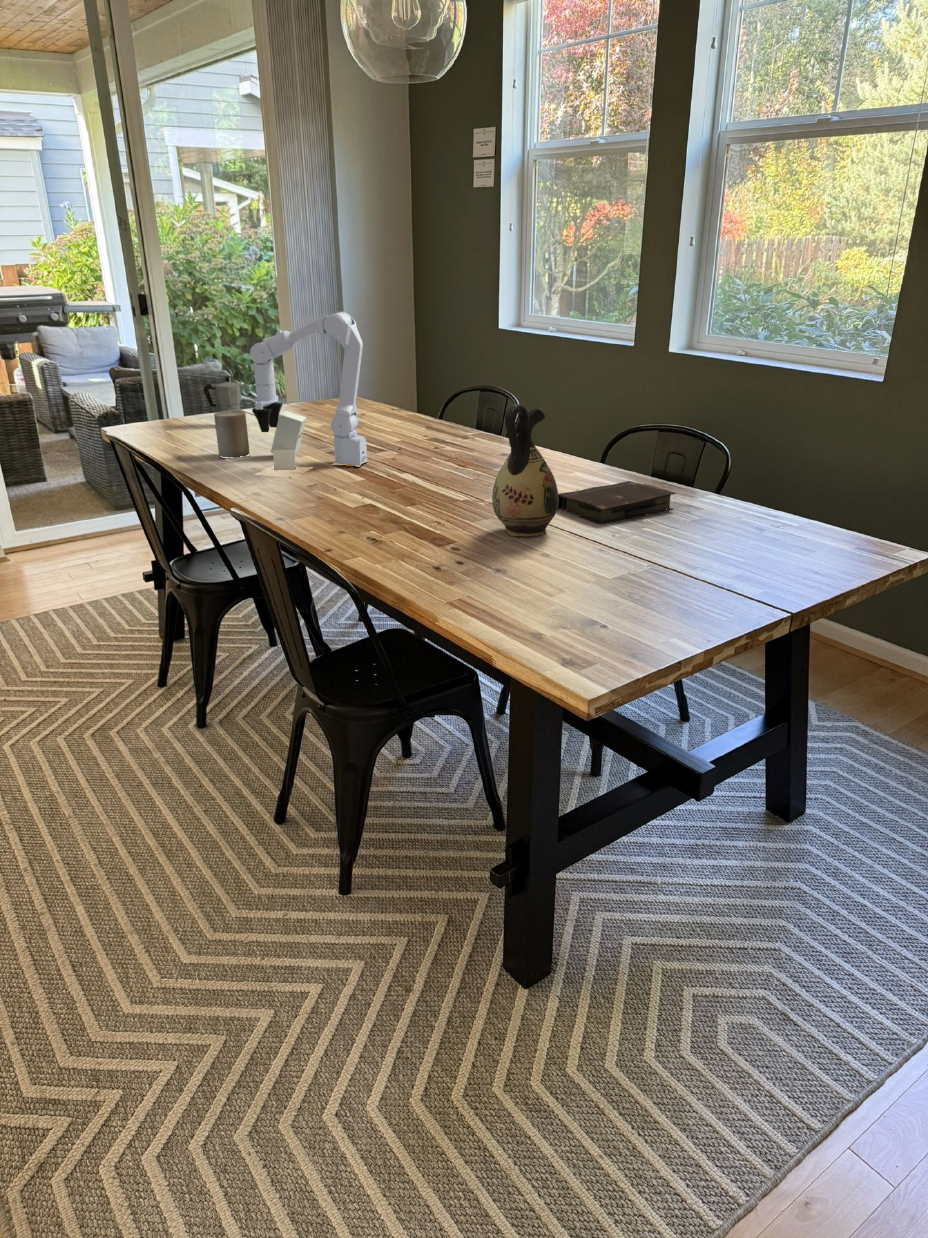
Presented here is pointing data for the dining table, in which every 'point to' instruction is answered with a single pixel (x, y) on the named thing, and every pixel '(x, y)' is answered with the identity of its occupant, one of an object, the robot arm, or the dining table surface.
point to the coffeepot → (226, 394)
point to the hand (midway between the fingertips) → (269, 429)
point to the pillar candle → (232, 433)
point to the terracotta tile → (284, 460)
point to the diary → (616, 502)
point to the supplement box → (288, 432)
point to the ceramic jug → (524, 479)
